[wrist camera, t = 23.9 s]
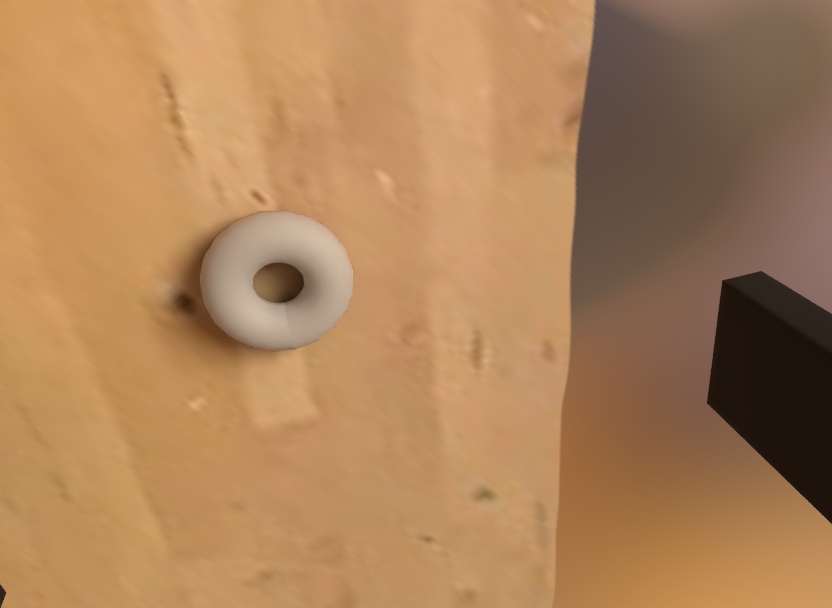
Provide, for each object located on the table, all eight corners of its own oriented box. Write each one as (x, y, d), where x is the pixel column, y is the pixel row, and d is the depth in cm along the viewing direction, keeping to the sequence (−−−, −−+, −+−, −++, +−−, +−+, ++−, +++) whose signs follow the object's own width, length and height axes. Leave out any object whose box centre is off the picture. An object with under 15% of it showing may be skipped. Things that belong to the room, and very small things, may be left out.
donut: (303, 175, 41) (169, 249, 42) (307, 191, 38) (163, 271, 39) (374, 292, 46) (254, 358, 47) (383, 315, 43) (255, 385, 44)
